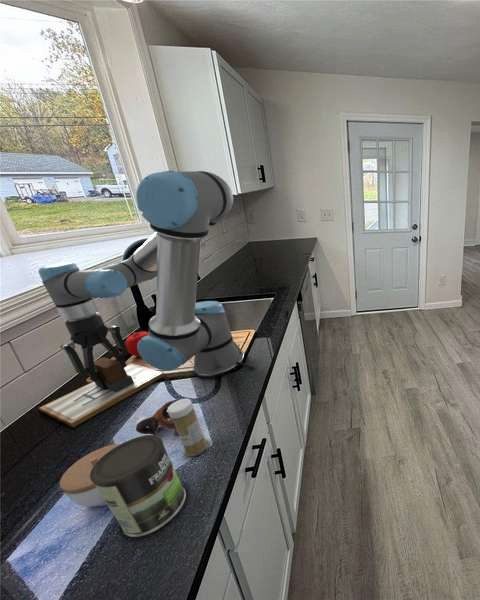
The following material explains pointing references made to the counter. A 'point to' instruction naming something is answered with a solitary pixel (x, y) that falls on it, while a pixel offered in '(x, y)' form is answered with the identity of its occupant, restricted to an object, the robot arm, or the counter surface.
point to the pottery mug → (157, 421)
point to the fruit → (134, 342)
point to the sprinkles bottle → (187, 427)
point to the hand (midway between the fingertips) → (114, 382)
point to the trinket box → (84, 480)
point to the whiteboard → (97, 397)
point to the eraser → (112, 374)
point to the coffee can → (139, 485)
